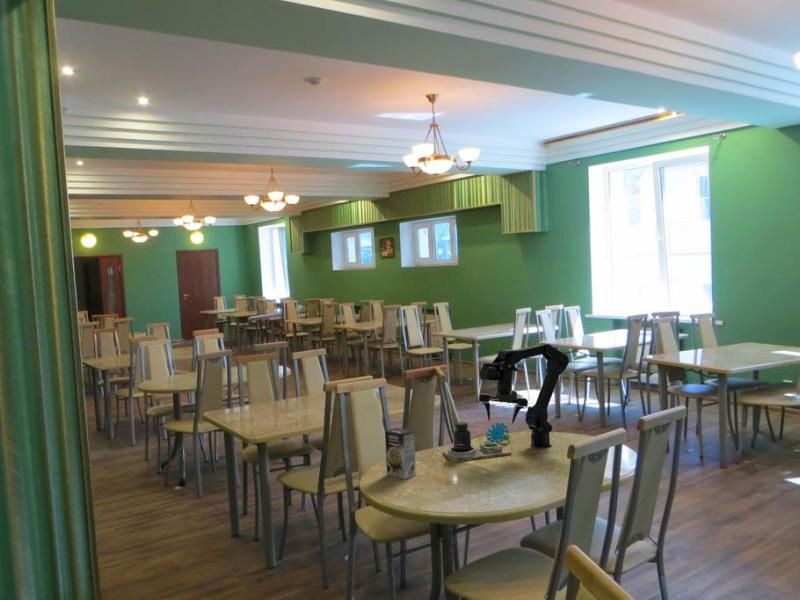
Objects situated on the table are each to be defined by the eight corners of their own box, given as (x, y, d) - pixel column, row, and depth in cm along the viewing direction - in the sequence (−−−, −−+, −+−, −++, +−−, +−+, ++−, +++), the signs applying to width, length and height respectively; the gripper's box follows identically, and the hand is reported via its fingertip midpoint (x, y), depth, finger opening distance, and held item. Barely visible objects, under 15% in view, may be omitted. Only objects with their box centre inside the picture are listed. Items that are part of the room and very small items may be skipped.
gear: (481, 437, 279) (493, 418, 282) (487, 445, 282) (499, 426, 285) (500, 445, 270) (513, 426, 274) (507, 453, 273) (519, 433, 277)
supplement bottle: (457, 457, 254) (456, 426, 254) (451, 452, 261) (449, 422, 260) (474, 454, 256) (472, 424, 256) (467, 450, 263) (466, 420, 262)
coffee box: (386, 475, 239) (383, 431, 239) (398, 470, 244) (396, 427, 243) (404, 479, 233) (402, 434, 232) (416, 474, 238) (414, 430, 237)
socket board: (499, 447, 268) (499, 440, 268) (511, 454, 257) (511, 447, 257) (443, 454, 262) (442, 446, 262) (453, 462, 251) (452, 454, 251)
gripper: (482, 381, 252) (478, 422, 251) (531, 386, 251) (527, 427, 250) (480, 378, 263) (476, 418, 263) (527, 384, 262) (523, 423, 262)
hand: (500, 421), depth 259 cm, fingers open, 9 cm apart
